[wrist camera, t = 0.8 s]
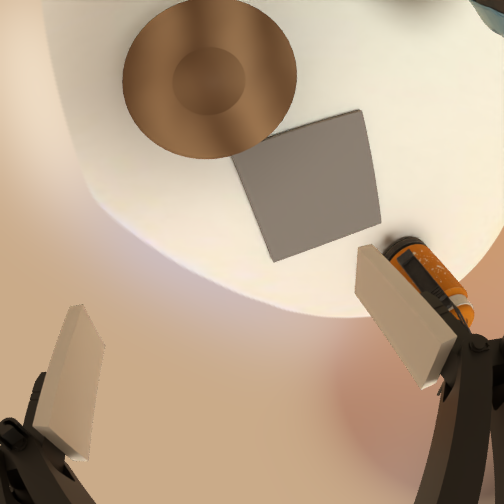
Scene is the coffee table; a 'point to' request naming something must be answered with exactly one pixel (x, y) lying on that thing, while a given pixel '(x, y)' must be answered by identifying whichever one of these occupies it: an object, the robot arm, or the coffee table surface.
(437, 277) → the canister
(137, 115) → the walnut lid
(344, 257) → the coffee table surface
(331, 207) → the rubber mat
